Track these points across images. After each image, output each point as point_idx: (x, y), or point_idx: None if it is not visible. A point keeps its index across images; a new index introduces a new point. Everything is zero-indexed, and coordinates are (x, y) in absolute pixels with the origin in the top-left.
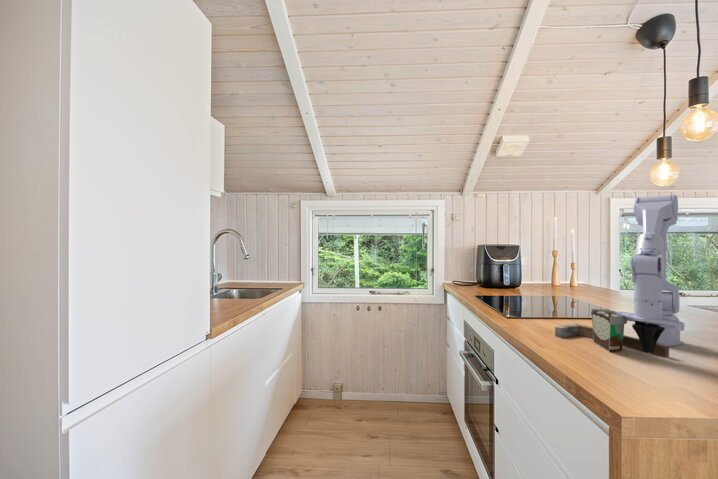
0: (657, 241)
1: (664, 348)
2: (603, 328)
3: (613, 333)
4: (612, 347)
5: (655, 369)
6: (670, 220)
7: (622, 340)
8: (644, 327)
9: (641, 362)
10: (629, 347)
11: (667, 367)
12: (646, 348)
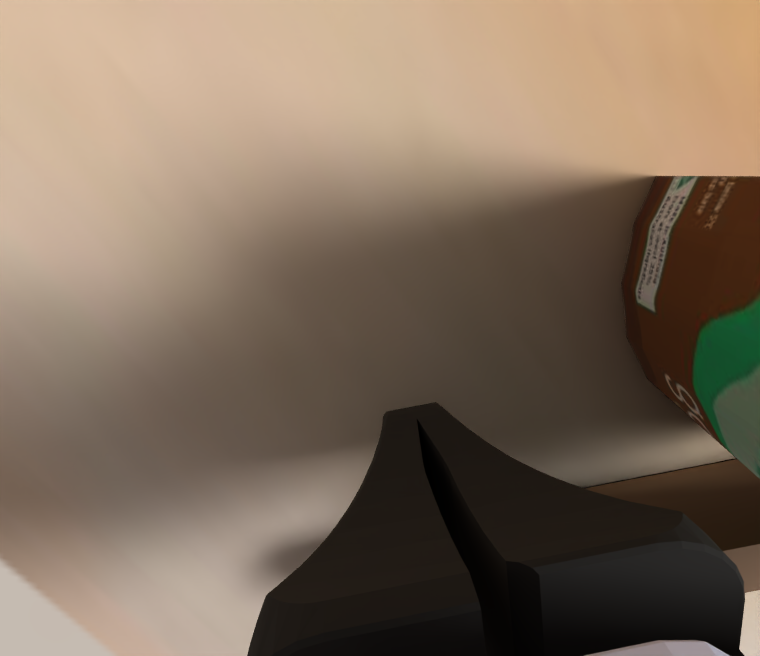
0: None
1: None
2: None
3: None
4: (671, 212)
5: (76, 121)
6: None
7: (696, 397)
8: (426, 595)
9: (299, 196)
10: (651, 481)
11: (125, 309)
12: (406, 421)
